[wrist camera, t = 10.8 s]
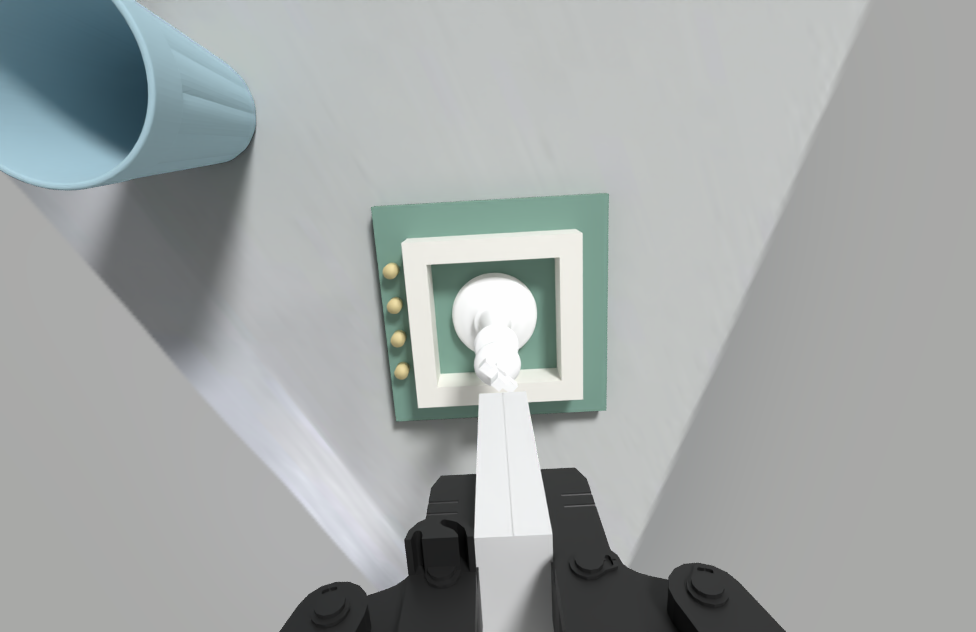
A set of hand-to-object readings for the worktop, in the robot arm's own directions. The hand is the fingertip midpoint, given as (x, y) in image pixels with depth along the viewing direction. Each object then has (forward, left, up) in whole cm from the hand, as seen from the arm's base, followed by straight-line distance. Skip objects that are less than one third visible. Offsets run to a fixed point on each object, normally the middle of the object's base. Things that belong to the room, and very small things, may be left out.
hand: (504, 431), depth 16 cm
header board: (0, 0, -14) cm, 14 cm away
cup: (-12, -15, -15) cm, 24 cm away
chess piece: (0, 0, -14) cm, 14 cm away
